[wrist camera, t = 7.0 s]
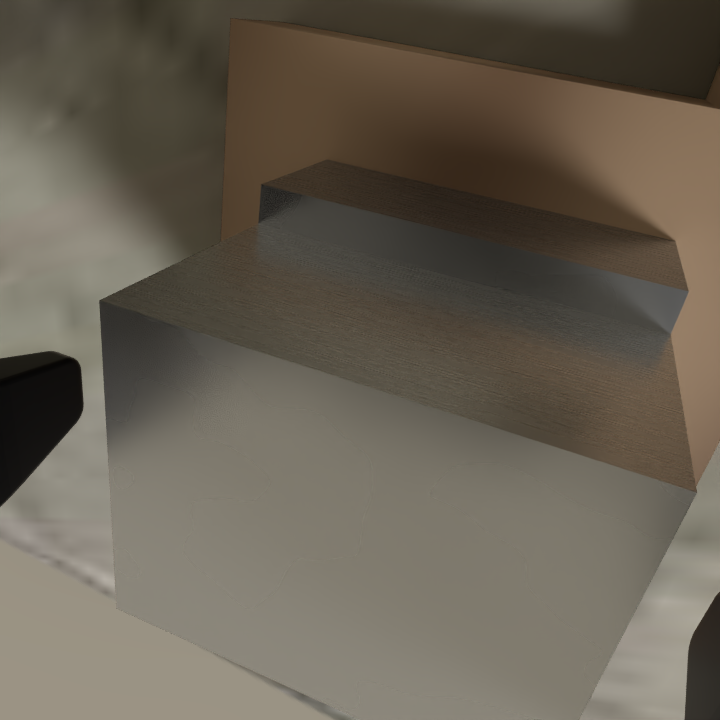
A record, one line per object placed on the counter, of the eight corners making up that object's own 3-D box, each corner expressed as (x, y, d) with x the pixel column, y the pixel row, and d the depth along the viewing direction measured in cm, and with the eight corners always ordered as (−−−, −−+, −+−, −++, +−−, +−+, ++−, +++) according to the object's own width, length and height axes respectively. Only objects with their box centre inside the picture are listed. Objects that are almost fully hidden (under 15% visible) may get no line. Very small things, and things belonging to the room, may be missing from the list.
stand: (835, 124, 10) (876, 138, 9) (622, 562, 15) (623, 626, 14) (282, 22, 13) (230, 18, 11) (250, 429, 18) (210, 469, 16)
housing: (675, 240, 10) (728, 433, 5) (562, 522, 13) (523, 826, 8) (327, 159, 12) (96, 246, 6) (295, 429, 14) (117, 636, 9)
